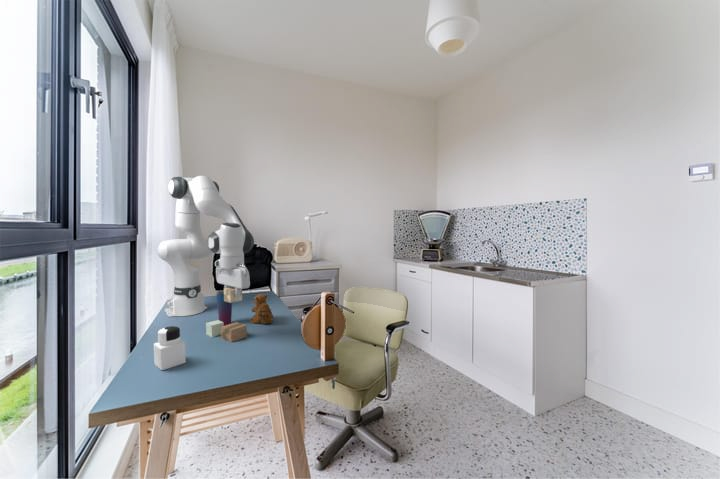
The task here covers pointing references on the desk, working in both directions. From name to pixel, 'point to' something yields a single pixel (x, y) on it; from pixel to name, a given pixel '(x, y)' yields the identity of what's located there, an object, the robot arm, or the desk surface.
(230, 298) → the oak cube
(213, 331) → the sage cube
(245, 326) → the walnut base
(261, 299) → the brown teddy bear
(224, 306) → the cup
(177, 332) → the medicine bottle
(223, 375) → the desk surface
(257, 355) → the desk surface
